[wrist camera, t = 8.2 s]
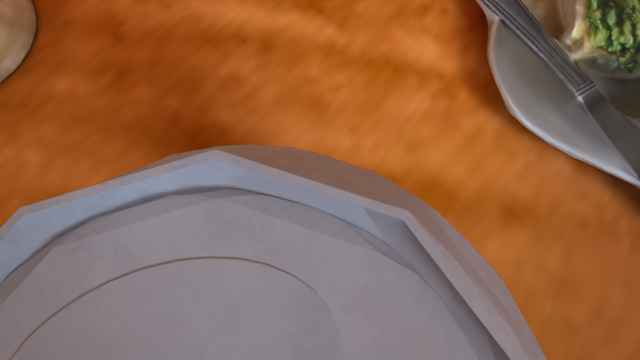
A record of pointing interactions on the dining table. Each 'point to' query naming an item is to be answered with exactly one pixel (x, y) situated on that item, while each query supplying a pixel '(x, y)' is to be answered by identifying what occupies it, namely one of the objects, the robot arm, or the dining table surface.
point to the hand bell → (15, 33)
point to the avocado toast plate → (572, 75)
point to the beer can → (249, 268)
